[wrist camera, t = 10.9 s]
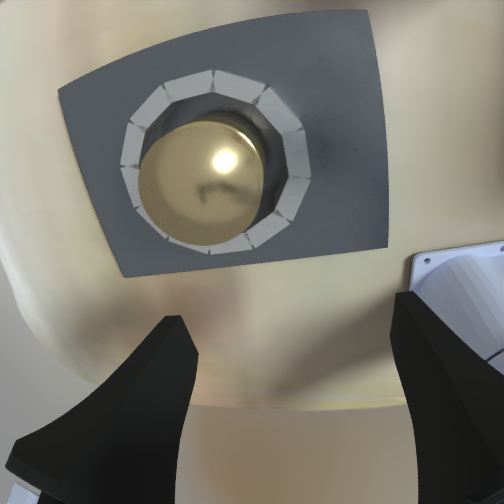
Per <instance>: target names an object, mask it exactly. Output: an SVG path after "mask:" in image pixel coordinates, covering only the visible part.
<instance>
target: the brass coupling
mask: <svg viewBox="0 0 504 504" xmlns="http://www.w3.org/2000/svg"><path fill="white" fill-rule="evenodd" d="M266 159H267V155H266V148H265V144H264V141H263V139H262V137H261V135H260V134H259V132H258V131H257V129H256V128H255V127H254V126H253V125H252V124H251V123H249V122H248V121H247V120H245V119H244V118H242V117H240V116H237V115H235V114H231V113H226V112H213V113H208V114H204V115H202V116H199V117H197V118H196V119H194V120H192V121H190V122H188V123H186V124H184V125H182V126H181V127H179V128H177V129H175V130H173V131H172V132H170V133H168V134H166V135H165V136H163V137H162V138H160V139H159V140H158V141H157V142H156V143H154V144H153V145H152V147H151V148H150V149H149V150H148V152H147V153H146V155H145V157H144V159H143V161H142V163H141V166H140V170H139V176H138V189H139V195H140V199H141V202H142V205H143V207H144V209H145V211H146V213H147V215H148V216H149V217H150V219H151V220H152V221H153V223H154V224H155V225H156V226H157V227H158V228H159V229H160V230H162V231H163V232H164V233H166V234H167V235H169V236H170V237H172V238H174V239H176V240H178V241H181V242H184V243H187V244H191V245H198V246H211V245H217V244H221V243H224V242H227V241H229V240H232V239H233V238H235V237H237V236H238V235H240V234H241V233H242V232H243V231H245V230H246V228H247V227H248V226H249V225H250V224H251V222H252V221H253V220H254V218H255V216H256V214H257V212H258V209H259V206H260V201H261V196H262V189H263V182H264V175H265V168H266Z"/></svg>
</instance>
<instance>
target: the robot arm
mask: <svg viewBox="0 0 504 504" xmlns="http://www.w3.org/2000/svg"><path fill="white" fill-rule="evenodd" d="M501 247H502V248H501ZM426 258H428V260H427V261H424V260H425V259H426ZM390 340H391V345H392V350H393V355H394V360H395V364H396V367H397V371H398V374H399V377H400V380H401V384H402V387H403V390H404V394H405V397H406V400H407V404H408V407H409V411H410V415H411V419H412V423H413V429H414V436H415V443H416V454H417V465H418V504H504V241H497V242H491V243H485V244H478V245H472V246H465V247H458V248H452V249H445V250H438V251H431V252H424V253H419V254H416V255H415V256H414V258H413V261H412V270H411V278H410V285H409V291H407V292H401V293H396V296H395V304H394V311H393V318H392V325H391V331H390ZM198 355H199V353H198V351H197V349H196V347H195V345H194V343H193V341H192V339H191V336H190V334H189V332H188V330H187V328H186V326H185V323H184V321H183V319H182V317H181V315H177V316H165V317H164V318H163V319H162V320H161V321H160V322H159V323H158V324H157V325H156V327H155V328H154V329H153V330H152V331H151V332H150V333H149V335H148V336H147V337H146V338H145V339H144V340H143V341H142V343H141V344H140V345H139V346H138V347H137V348H136V349H135V350H134V351H133V353H132V354H131V355H130V356H129V357H128V358H127V359H126V360H125V361H124V362H123V363H122V364H121V365H120V366H119V367H118V369H117V370H116V371H115V372H114V373H113V374H112V375H111V376H110V377H109V378H108V379H107V380H106V381H105V382H104V383H103V384H101V385H100V386H99V387H98V388H97V389H96V390H95V391H94V392H92V393H91V394H90V395H89V396H88V397H87V398H85V399H84V400H83V401H82V402H80V403H79V404H78V405H76V406H75V407H73V408H72V409H71V410H69V411H68V412H67V413H65V414H64V415H62V416H61V417H59V418H58V419H56V420H55V421H53V422H52V423H50V424H48V425H46V426H45V427H43V428H41V429H39V430H37V431H35V432H33V433H31V434H29V435H27V436H24V437H22V438H20V439H18V440H16V442H15V444H14V446H13V448H12V451H11V453H10V456H9V458H8V460H7V463H6V465H5V467H6V469H7V470H9V471H10V472H11V473H13V474H15V475H16V476H18V477H19V478H21V479H22V480H24V481H26V482H28V483H29V484H31V485H32V486H34V487H36V488H37V489H39V490H41V494H40V495H38V494H36V493H35V492H33V491H31V490H30V489H28V488H26V487H25V486H23V485H21V484H20V483H18V482H15V483H14V486H13V489H12V491H11V494H10V497H9V500H8V503H7V504H175V481H176V469H177V459H178V451H179V444H180V437H181V433H182V429H183V424H184V421H185V417H186V413H187V410H188V406H189V402H190V399H191V395H192V391H193V387H194V383H195V379H196V372H197V364H198Z"/></svg>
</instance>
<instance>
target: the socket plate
mask: <svg viewBox="0 0 504 504" xmlns="http://www.w3.org/2000/svg"><path fill="white" fill-rule="evenodd" d="M58 93H59V98H60V102H61V106H62V109H63V113H64V117H65V121H66V124H67V128H68V131H69V135H70V138H71V141H72V144H73V148H74V151H75V154H76V157H77V160H78V163H79V166H80V169H81V172H82V175H83V178H84V181H85V183H86V186H87V189H88V192H89V194H90V197H91V200H92V202H93V205H94V208H95V210H96V213H97V215H98V218H99V220H100V223H101V225H102V228H103V230H104V232H105V235H106V237H107V239H108V242H109V244H110V246H111V249H112V251H113V253H114V255H115V258H116V260H117V262H118V264H119V266H120V269H121V271H122V273H123V275H124V277H125V278H129V277H138V276H148V275H157V274H167V273H176V272H185V271H194V270H203V269H212V268H221V267H230V266H239V265H248V264H256V263H265V262H273V261H282V260H290V259H299V258H307V257H315V256H323V255H332V254H340V253H348V252H356V251H364V250H371V249H379V248H387V247H388V229H389V183H388V157H387V140H386V127H385V116H384V107H383V98H382V90H381V82H380V75H379V68H378V62H377V56H376V50H375V45H374V40H373V35H372V30H371V25H370V20H369V16H368V12H367V10H328V11H313V12H301V13H292V14H283V15H276V16H269V17H263V18H257V19H251V20H246V21H241V22H236V23H231V24H227V25H222V26H218V27H214V28H210V29H206V30H202V31H198V32H195V33H191V34H188V35H185V36H181V37H178V38H175V39H172V40H169V41H166V42H163V43H160V44H157V45H154V46H151V47H149V48H146V49H143V50H141V51H138V52H135V53H133V54H130V55H128V56H125V57H123V58H121V59H118V60H116V61H114V62H111V63H109V64H107V65H105V66H103V67H100V68H98V69H96V70H94V71H92V72H90V73H88V74H86V75H84V76H82V77H80V78H78V79H76V80H74V81H72V82H71V83H69V84H67V85H65V86H63V87H61V88H60V89H58ZM213 112H226V113H231V114H235V115H237V116H240V117H242V118H244V119H245V120H247V121H248V122H249V123H251V124H252V125H253V126H254V127H255V128H256V129H257V131H258V132H259V134H260V135H261V137H262V139H263V141H264V144H265V148H266V155H267V159H266V168H265V175H264V182H263V189H262V196H261V201H260V206H259V209H258V212H257V214H256V216H255V218H254V220H253V221H252V222H251V224H250V225H249V226H248V227H247V228H246V230H245V231H243V232H242V233H241V234H240V235H238V236H237V237H235V238H233V239H232V240H229V241H227V242H224V243H221V244H217V245H211V246H198V245H191V244H187V243H184V242H181V241H178V240H176V239H174V238H172V237H170V236H169V235H167V234H166V233H164V232H163V231H162V230H160V229H159V228H158V227H157V226H156V225H155V224H154V223H153V221H152V220H151V219H150V217H149V216H148V215H147V213H146V211H145V209H144V207H143V205H142V202H141V199H140V195H139V189H138V176H139V170H140V166H141V163H142V161H143V159H144V157H145V155H146V153H147V152H148V150H149V149H150V148H151V147H152V145H153V144H154V143H156V142H157V141H158V140H159V139H160V138H162V137H163V136H165V135H166V134H168V133H170V132H172V131H173V130H175V129H177V128H179V127H181V126H182V125H184V124H186V123H188V122H190V121H192V120H194V119H196V118H197V117H199V116H202V115H204V114H208V113H213Z"/></svg>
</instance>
